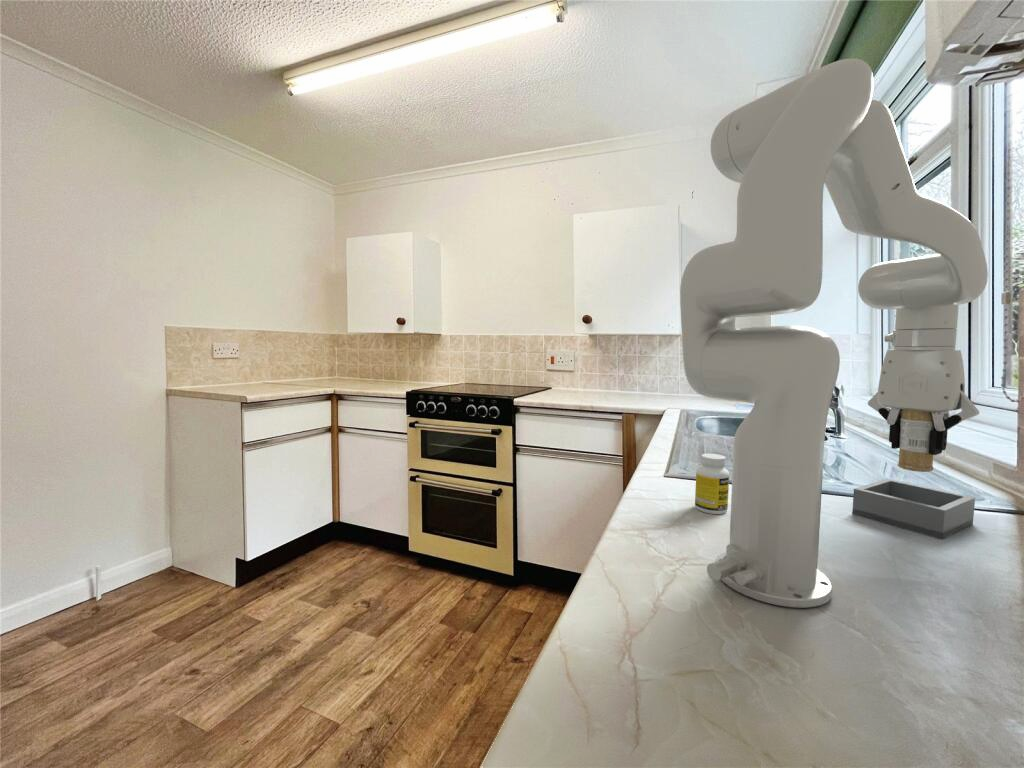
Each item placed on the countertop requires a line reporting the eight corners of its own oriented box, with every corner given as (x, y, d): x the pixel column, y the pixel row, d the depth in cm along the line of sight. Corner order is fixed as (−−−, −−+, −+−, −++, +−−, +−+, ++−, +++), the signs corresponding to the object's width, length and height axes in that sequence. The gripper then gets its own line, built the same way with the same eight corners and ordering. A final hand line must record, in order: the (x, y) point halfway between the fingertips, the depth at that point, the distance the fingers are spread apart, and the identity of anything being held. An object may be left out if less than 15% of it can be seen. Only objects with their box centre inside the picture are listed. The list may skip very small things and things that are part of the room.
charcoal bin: (942, 539, 69) (944, 510, 68) (852, 513, 79) (853, 488, 79) (972, 524, 74) (975, 497, 74) (885, 502, 85) (886, 478, 85)
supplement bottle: (721, 517, 78) (724, 461, 77) (690, 509, 81) (691, 456, 80) (731, 509, 82) (734, 455, 81) (701, 502, 85) (703, 450, 84)
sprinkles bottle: (937, 469, 75) (942, 389, 74) (928, 474, 73) (933, 391, 72) (902, 464, 79) (906, 387, 78) (892, 468, 77) (897, 389, 76)
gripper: (853, 341, 80) (847, 443, 81) (987, 340, 65) (977, 465, 67) (874, 341, 83) (868, 439, 85) (1005, 340, 69) (995, 458, 70)
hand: (916, 449), depth 76 cm, fingers closed on sprinkles bottle, 4 cm apart
